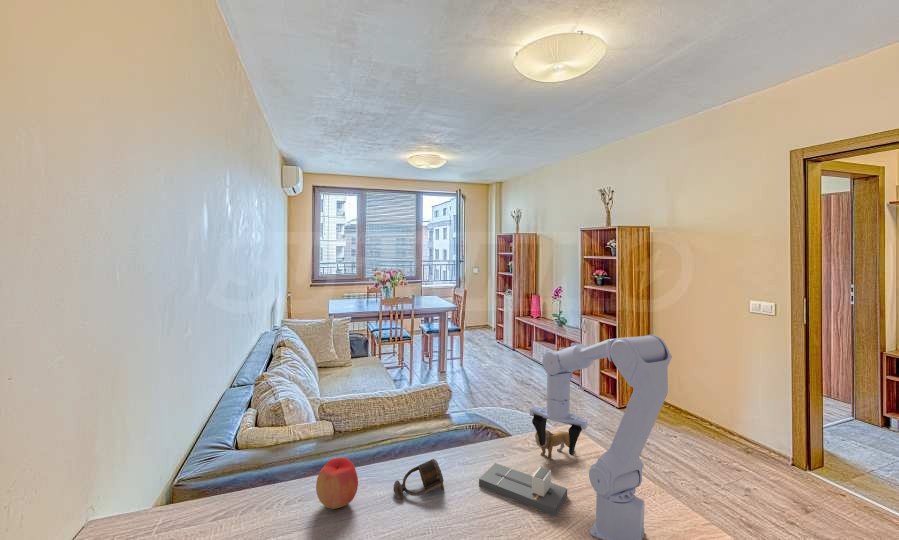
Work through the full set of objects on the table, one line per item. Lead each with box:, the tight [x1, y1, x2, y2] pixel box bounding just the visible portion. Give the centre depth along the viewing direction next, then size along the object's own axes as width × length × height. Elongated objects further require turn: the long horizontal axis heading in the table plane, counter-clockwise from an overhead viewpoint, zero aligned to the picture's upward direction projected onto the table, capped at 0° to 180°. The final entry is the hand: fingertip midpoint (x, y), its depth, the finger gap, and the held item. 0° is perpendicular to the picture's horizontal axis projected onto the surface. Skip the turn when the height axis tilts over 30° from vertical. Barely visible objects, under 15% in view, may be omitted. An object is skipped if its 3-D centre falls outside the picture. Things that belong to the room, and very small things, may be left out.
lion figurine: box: [534, 429, 575, 461], centre depth 114 cm, size 15×5×9 cm, turn 118°
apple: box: [315, 457, 359, 510], centre depth 91 cm, size 10×10×10 cm
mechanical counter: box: [393, 458, 445, 500], centre depth 97 cm, size 7×13×10 cm
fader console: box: [478, 462, 568, 518], centre depth 97 cm, size 20×9×2 cm, turn 56°
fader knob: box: [531, 466, 552, 497], centre depth 94 cm, size 3×5×4 cm, turn 146°
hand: (556, 448), depth 100 cm, fingers open, 7 cm apart
